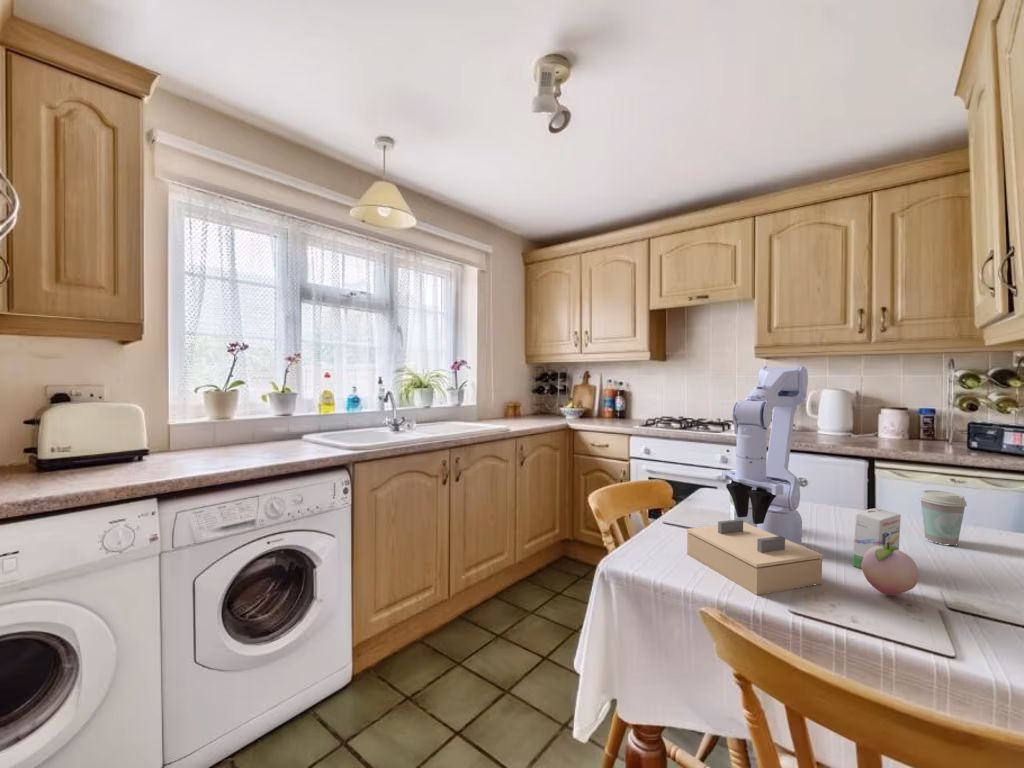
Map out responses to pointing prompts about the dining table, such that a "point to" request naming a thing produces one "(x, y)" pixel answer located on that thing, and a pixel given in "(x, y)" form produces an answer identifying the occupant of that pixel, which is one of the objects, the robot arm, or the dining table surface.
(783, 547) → the lid panel
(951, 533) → the coffee cup
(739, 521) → the lid panel
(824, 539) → the dining table surface
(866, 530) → the ink box
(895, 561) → the decorative fruit
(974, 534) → the dining table surface
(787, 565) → the carton
